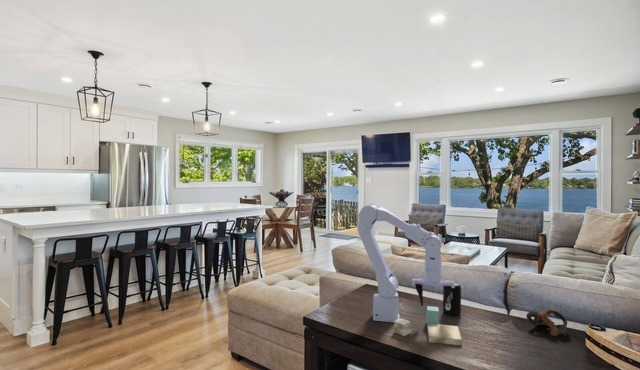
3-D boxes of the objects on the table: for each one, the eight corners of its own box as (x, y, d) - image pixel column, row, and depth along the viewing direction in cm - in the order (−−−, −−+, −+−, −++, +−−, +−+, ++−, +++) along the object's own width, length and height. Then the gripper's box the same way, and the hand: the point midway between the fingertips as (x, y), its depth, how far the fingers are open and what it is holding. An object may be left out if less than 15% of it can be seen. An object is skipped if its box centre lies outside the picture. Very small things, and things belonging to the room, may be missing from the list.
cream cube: (394, 332, 119) (394, 321, 119) (401, 329, 122) (401, 318, 122) (404, 336, 116) (404, 325, 116) (410, 333, 119) (410, 321, 119)
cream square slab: (429, 341, 112) (429, 335, 112) (427, 328, 122) (427, 323, 122) (461, 345, 110) (461, 339, 110) (457, 331, 120) (457, 326, 120)
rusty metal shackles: (554, 325, 126) (565, 310, 121) (562, 348, 118) (574, 333, 113) (519, 315, 128) (529, 300, 124) (524, 336, 120) (535, 320, 116)
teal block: (427, 326, 124) (427, 310, 124) (426, 322, 128) (426, 306, 128) (438, 327, 123) (439, 311, 123) (438, 323, 127) (438, 307, 127)
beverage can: (462, 317, 132) (462, 286, 132) (444, 315, 133) (444, 285, 133) (459, 310, 139) (459, 281, 138) (441, 309, 140) (442, 280, 140)
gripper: (412, 270, 123) (412, 307, 123) (455, 272, 119) (455, 311, 120) (412, 265, 130) (412, 300, 130) (453, 267, 126) (453, 304, 126)
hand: (433, 305), depth 125 cm, fingers open, 7 cm apart
